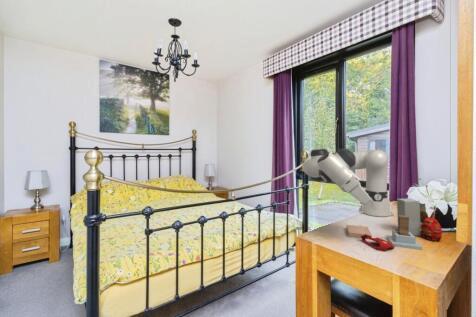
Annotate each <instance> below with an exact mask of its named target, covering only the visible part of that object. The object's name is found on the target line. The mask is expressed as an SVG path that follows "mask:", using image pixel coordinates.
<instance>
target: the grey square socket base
mask: <svg viewBox="0 0 476 317" xmlns="http://www.w3.org/2000/svg"><path fill="white" fill-rule="evenodd" d="M386 240H387V241H389V242H390V243H391V244H392V245H394V248H404V249H405V248H406V249H411V250H419V251H420V250H421V251H423V246H422V245H421V244H420V243H419V242H418V241H417V240H416V236H413V235H412V234H411V233H410V232H409V235H408V236H404V235H399V234H398V230H393V229H392V232H391V235H388V234H387V235H386Z"/></svg>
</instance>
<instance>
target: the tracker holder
mask: <svg viewBox="0 0 476 317" xmlns="http://www.w3.org/2000/svg"><path fill="white" fill-rule="evenodd" d="M372 236H373V235H372ZM372 236H371V235H369V234H363V235H360V237H361V238H360V240H362V242H363V243H364V244H366V245H368V246H369V247H372V248H373V249H375V250H379V251H382V252H383V251H385V250H387V249H389V248H392V249H395V246H394V245H392V244H391V243H390V242H389V241H388V239H384V238H381V237H372ZM371 237H372V238H371ZM365 238H366V239H365ZM367 240H370V241H372V242H374V243H377V244H379V246H376V245H374V244H372V243H369V242H368V241H367Z"/></svg>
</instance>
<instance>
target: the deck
mask: <svg viewBox="0 0 476 317" xmlns="http://www.w3.org/2000/svg"><path fill="white" fill-rule="evenodd" d="M346 231H347V235H348V238H356V239H361V237H360V235H363V234H369V235H371V236H373V234H372V233H371V230H370V228H369V227H368V226H363V225H354V224H352V225H351V224H346ZM371 238H373V237H371ZM365 240H367V239H366V238H365Z"/></svg>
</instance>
